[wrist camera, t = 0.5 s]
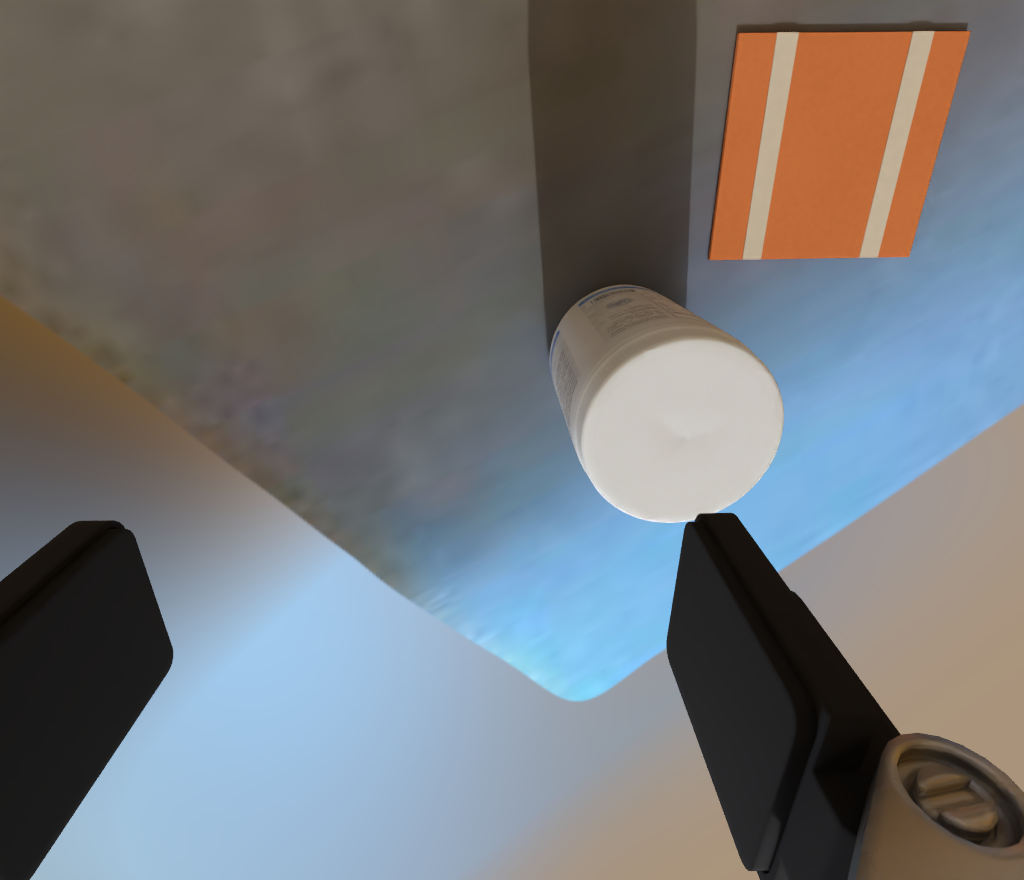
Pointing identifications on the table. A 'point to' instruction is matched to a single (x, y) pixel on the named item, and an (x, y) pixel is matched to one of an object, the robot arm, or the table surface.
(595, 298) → the supplement tub
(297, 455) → the table surface
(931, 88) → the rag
